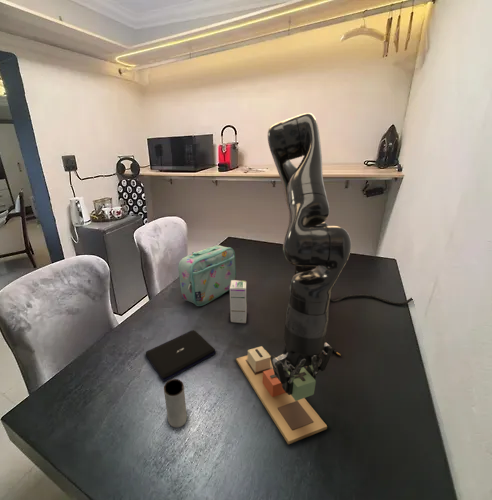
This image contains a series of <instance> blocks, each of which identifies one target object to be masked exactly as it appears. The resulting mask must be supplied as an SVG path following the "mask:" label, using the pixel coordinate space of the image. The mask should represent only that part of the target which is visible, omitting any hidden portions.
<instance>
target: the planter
mask: <svg viewBox="0 0 492 500" xmlns="http://www.w3.org/2000/svg"><path fill="white" fill-rule="evenodd" d="M163 393H164V400H165V409H166V414H167V415H166V416H167V421H168V424H169V425H170V426H171V427H172V428H176V429H177V428H181V427H183V426H184V425H185V424H186V422H187V420H188V415H187V404H186V394H185V385H184V382H183V381H182V380H180V379H179V378H172V379H168V380H167V381H166V383H165V384H164V386H163Z"/></svg>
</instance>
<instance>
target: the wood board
mask: <svg viewBox="0 0 492 500" xmlns="http://www.w3.org/2000/svg"><path fill="white" fill-rule="evenodd" d="M264 350H265V351H266V352H267V353H268V355H269V356H270V357H271V356H272V355H271V354H270V353H269V352H268V351H267V350H266V349H264ZM247 358H248V354H247V355H244V356H243V355H242V356H239V357H236V358H235V362H236V363H237V366H238V367H239V368H240V369H241V372H242V373H243V375H244V376H245V378H246V379H247V381H248V382H249V384H250V386H251V387H252V390H254V392H255V394H256V395H257V397H258V399H259V400H260V403H262V405H263V407H264V408H265V410H266V412H267V413H268V415H269V417H270V418H271V419H272V421H273V422H274V424H275V426H276V427H277V429H278V430H279V433H280V434H281V435H282V437H283V439H284V441H285V442H286V444H287V445H290V444H293V443H296V442H299V441H301V440H303V439H305V438H308V437H311V436H314V435H315V434H318V433H320V432H323V431H326V430H327V429H328V426H327V424H326V423H325V422H324V420H323V419H322V418H321V417H320V415H319V414H318V413H317V411H316V410H315V409H314V408H313V407H312V405H311V404H310V403H309V402H308V401H307V399H306V398H303V399H300V400H297V401H295V399H294V398H293V397H292V396H291V395H288V394H287V393H283V394H280V395H277V396H275V397H272V396H271V395H270V393H269V392H268V390H267V389H266V387H265V386H264V384H263V371H266V370H270V369H273V367H272V363H271V359H270V368H268V369H265V370H262V371H259V372H255V371H254V370H253V368H252V367H251V365H250V364H249V362H248V361H247Z"/></svg>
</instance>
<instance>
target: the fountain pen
mask: <svg viewBox="0 0 492 500" xmlns="http://www.w3.org/2000/svg"><path fill="white" fill-rule="evenodd" d="M332 353H334V354H337V355H338V356H341V353H339V351H338V350H337V349H335V348H333V352H332Z"/></svg>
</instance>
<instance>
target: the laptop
mask: <svg viewBox="0 0 492 500" xmlns="http://www.w3.org/2000/svg"><path fill="white" fill-rule="evenodd" d="M216 353H217V352H216V349H215V348H214V347H213V346H212V345H211V344H210V343H209V342H208V341H207V340H206V339H205V338H204V337H202V335H200V334H199V333H198V332H197V331H196V330H194V329H193V330H189V331H187V332H185V333H183V334H181V335H179V336H177V337H174V338H172V339H170V340H168V341H166V342H163V343H161V344H159V345H157V346H155V347H153V348H151V349H149V350H146V352H145V356H146V358H147V359H148V361H149V363H150V364H151V365H152V367H153V369H154V370H155V371H156V372H157V374H158V375H159V377H160V378H161V380H162V381H163V382H165V381H166V382H167V381H168V380H170V379H171V378H174V377H175V376H177V375H179V374H180V373H182V372H184V371H186V370H188V369H190V368H191V367H194V366H195V365H197V364H199V363H200V362H201V363H202V362H203V361H204V360H206V359H208V358H210V357H212V356H213V355H215V354H216Z"/></svg>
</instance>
